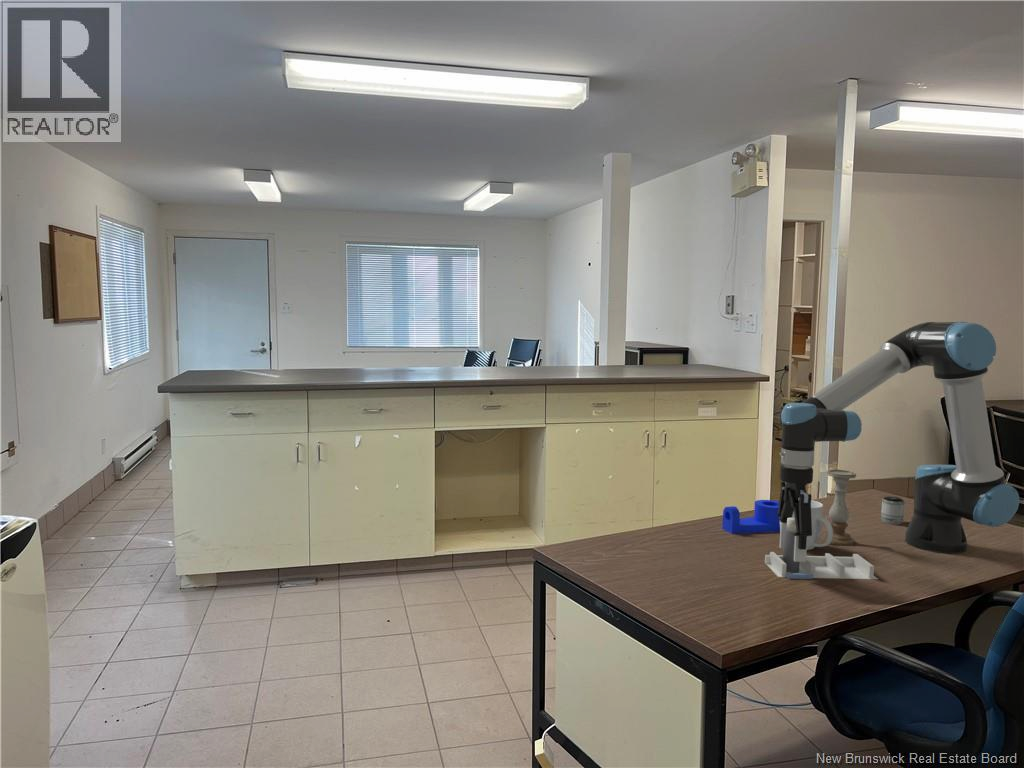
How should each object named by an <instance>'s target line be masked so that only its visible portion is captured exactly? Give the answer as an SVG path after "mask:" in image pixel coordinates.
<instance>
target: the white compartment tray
mask: <svg viewBox="0 0 1024 768" xmlns="http://www.w3.org/2000/svg"><path fill="white" fill-rule="evenodd" d="M764 556H765V557H764V564H766V566H767V567H768V568H769V569H770V570H771V571H772V572H773V573H774V574H775V575H776V576H777V578H786V579H791V580H792V579H795V580H796V579H797V580H813V579H842V580H843V579H844V580H845V579H847V580H849V579H850V580H852V579H853V580H879V578H877V577H876V576H875V575H874V573H875V565H873V564H872V563H870V561H867V560H866V559H864V558H863V556H860V554H858V553H852V556H833V555H832V554H831V553H829V552H828V553H827V552H825V554H824V555H822V556H821V555H806V562H800V566H799V572H798V573H790V572H786V565H787V564H786V563H785V562H784V561H783V554H780V555H779V554H778V555H777V554H776V553H775V552H774V551H770V552H769V554H764Z"/></svg>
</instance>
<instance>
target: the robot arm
mask: <svg viewBox="0 0 1024 768" xmlns="http://www.w3.org/2000/svg"><path fill="white" fill-rule="evenodd" d="M996 354H997V343H996V340H995V337H994V336H993V334H992V333H991V331H990V330H989V329H987V328H986V327H985V326H984V325H981V324H978V323H974V322H967V321H952V322H951V321H946V322H945V321H943V322H942V321H941V322H939V321H938V322H937V321H929V322H927V321H926V322H923V323H919V324H915V325H913V326H911V327H908V328H906V329H905V330H902V331H901V332H899V333H898V334H895V336H892V337H891V338H890V339H888V340H887V341H885V342H884V343H882V344H881V345H880V346H879V350H878V351H877V352H875V353H874V354H873V355H871V356H869V357H868V358H866V359H864V360H863V361H862V362H860V363H859V364H857V365H856V366H855V367H853V368H852V369H850V370H848V371H847V372H845V373H844V374H843V375H841V376H840V377H838V378H837V379H835V380H834V381H832V382H830V383H829V384H827V385H826V386H825V387H823V388H821V389H820V390H818V391H817V392H816V393H814V394H812V395H811V396H809V397H808V398H806V399H805V400H803V401H802V402H789V403H786V404H785V405H784V407H783V409H782V410H781V415H780V418H781V419H780V421H781V424H782V426H781V429H782V430H781V452H779V456H780V463H781V465H780V467H779V468H780V469H779V479H780V480H781V482H780V494H779V507H778V514H777V516H778V517H780V522H781V526H780V532H779V548H780V549H783V540H784V529H787V518H792V515H793V512H794V515H795V523H796V531H797V533H794V536H795V544H794V561H795V562H806V556H807V553H808V552H807V551H808V550H807V536H812V520H811V500H812V494H811V493H807V488H806V485H810V484H811V483H812V482H813V481H814V480H813V479H814V468H813V466H815V448H816V447H815V446H816V445H815V444H816V443H819V442H851V441H855V440H856V439H858V438H859V437H860V435H861V432H862V425H863V423H862V419H861V417H860V416H859V415H858V413H856V412H855V411H852V410H844V409H847V408H848V407H850V406H851V405H852V404H854V403H855V402H857V401H858V400H860V399H861V398H863V397H864V396H866V395H867V394H868V393H870V392H872V391H874V390H875V389H876V388H877V387H879V386H880V385H882V384H884V383H885V382H886V381H888V380H890V379H891V378H892V377H894V376H896V375H897V374H906V373H907V372H908V371H910V370H912V369H914V368H918V367H922V366H923V367H924V366H929V367H932V369H933V375H934V379H936V380H937V381H939V382H940V383H942V388H943V393H944V400H945V401H944V402H945V406H946V411H947V418H948V423H949V430H950V431H949V432H950V436H951V443H952V449H953V454H954V461H955V464H940V463H939V464H922V465H919V466H918V467H917V469H916V474H915V478H914V495H913V496H914V498H913V499H914V500H913V515H912V517H911V520H910V521H909V524H908V526H907V527H906V530H905V533H904V541H905V542H906V543H907V544H909V545H911V546H913V547H916V548H918V549H923V550H927V551H931V552H935V553H936V552H937V553H945V554H946V553H947V554H955V553H956V554H957V553H958V554H959V553H964V552H966V551H967V549H968V539H967V536H966V533H965V531H964V527H963V523H962V518H963V519H965V520H968V521H970V522H971V521H972V522H973V523H975V524H978V525H984V526H988V527H992V528H993V527H996V528H997V527H1000V526H1003V525H1005V524H1007V523H1008V522H1009V521H1011V520H1012V519H1013V517H1014V515H1016V512H1017V511H1018V509H1019V505H1020V495H1019V493H1018V491H1017V489H1016V488H1014V487H1013V486H1012V485H1011V484H1008V483H1006V480H1005V479H1006V477H1005V473H1004V471H1003V469H1001V468H1000V467H998V466H997V465H996V459H995V454H994V447H993V442H992V441H993V440H992V435H991V429H990V422H989V415H988V410H987V409H988V408H987V404H986V403H987V401H986V395H985V390H984V389H985V388H984V383H983V378H984V377H985V375H986V374H988V373H989V368H988V367H989V366H990V365H992V363H993V362H994V357H995V356H996ZM804 530H805V531H804Z"/></svg>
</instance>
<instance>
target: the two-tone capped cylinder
mask: <svg viewBox="0 0 1024 768" xmlns="http://www.w3.org/2000/svg"><path fill="white" fill-rule="evenodd" d="M794 533H797V531H796V523H795V518H787V529H784V540H783V548H782V555H783V561H784V562H785V563H786V564H787V565H786V572H790V573H798V572H799V566H800V562H795V561H794V544H795V536H794Z"/></svg>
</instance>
